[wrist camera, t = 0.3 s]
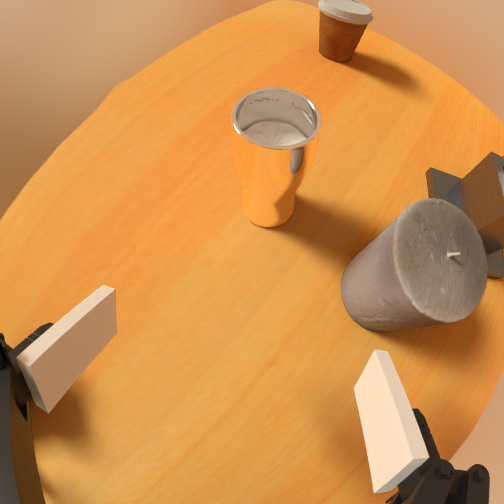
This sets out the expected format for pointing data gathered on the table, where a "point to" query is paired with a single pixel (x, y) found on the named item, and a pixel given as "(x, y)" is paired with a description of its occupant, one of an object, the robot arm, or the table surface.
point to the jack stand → (478, 203)
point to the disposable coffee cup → (341, 27)
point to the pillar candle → (417, 270)
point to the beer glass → (273, 150)
